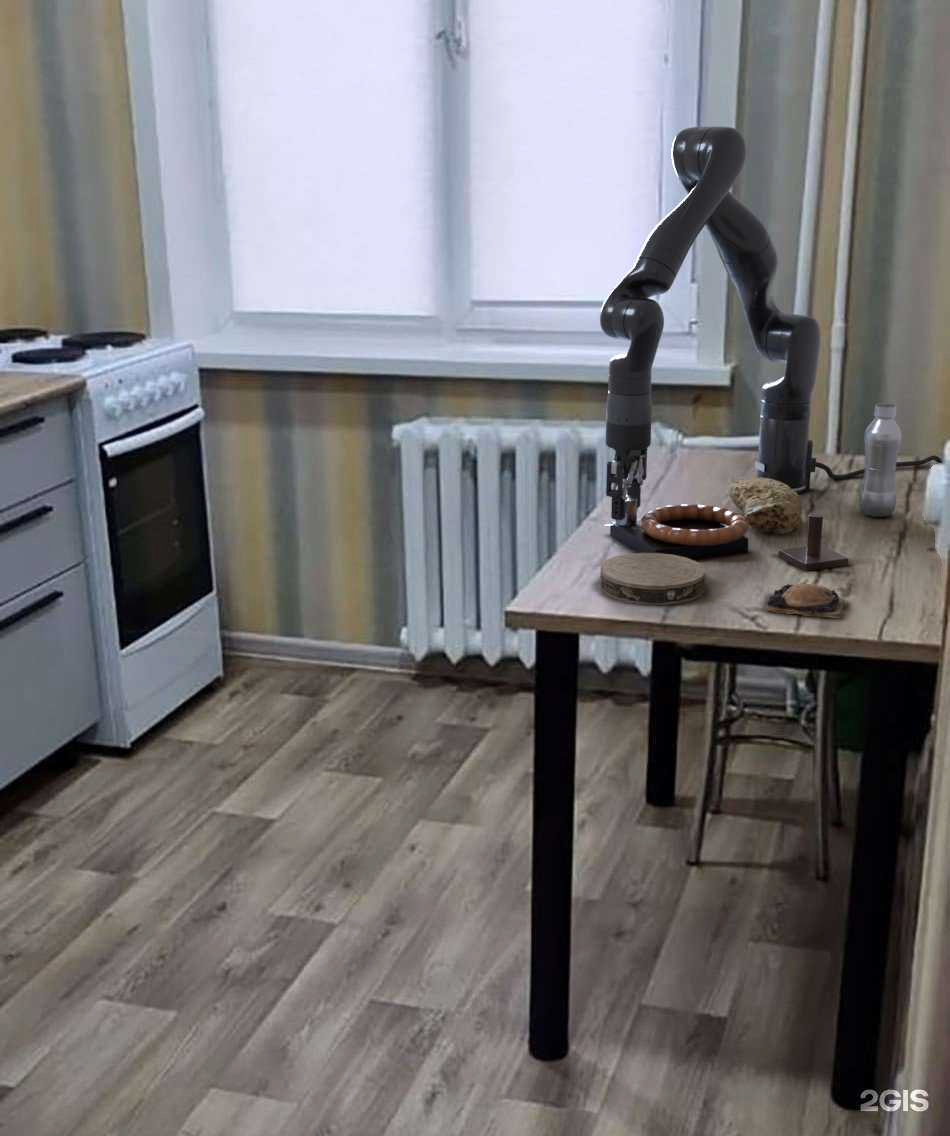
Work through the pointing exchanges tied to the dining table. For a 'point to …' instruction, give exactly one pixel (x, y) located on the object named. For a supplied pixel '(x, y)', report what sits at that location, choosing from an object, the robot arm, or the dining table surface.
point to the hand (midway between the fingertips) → (625, 513)
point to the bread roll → (806, 601)
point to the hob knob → (629, 512)
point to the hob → (647, 544)
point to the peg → (813, 550)
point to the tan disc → (652, 578)
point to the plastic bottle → (880, 462)
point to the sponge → (767, 504)
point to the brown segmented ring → (694, 537)
